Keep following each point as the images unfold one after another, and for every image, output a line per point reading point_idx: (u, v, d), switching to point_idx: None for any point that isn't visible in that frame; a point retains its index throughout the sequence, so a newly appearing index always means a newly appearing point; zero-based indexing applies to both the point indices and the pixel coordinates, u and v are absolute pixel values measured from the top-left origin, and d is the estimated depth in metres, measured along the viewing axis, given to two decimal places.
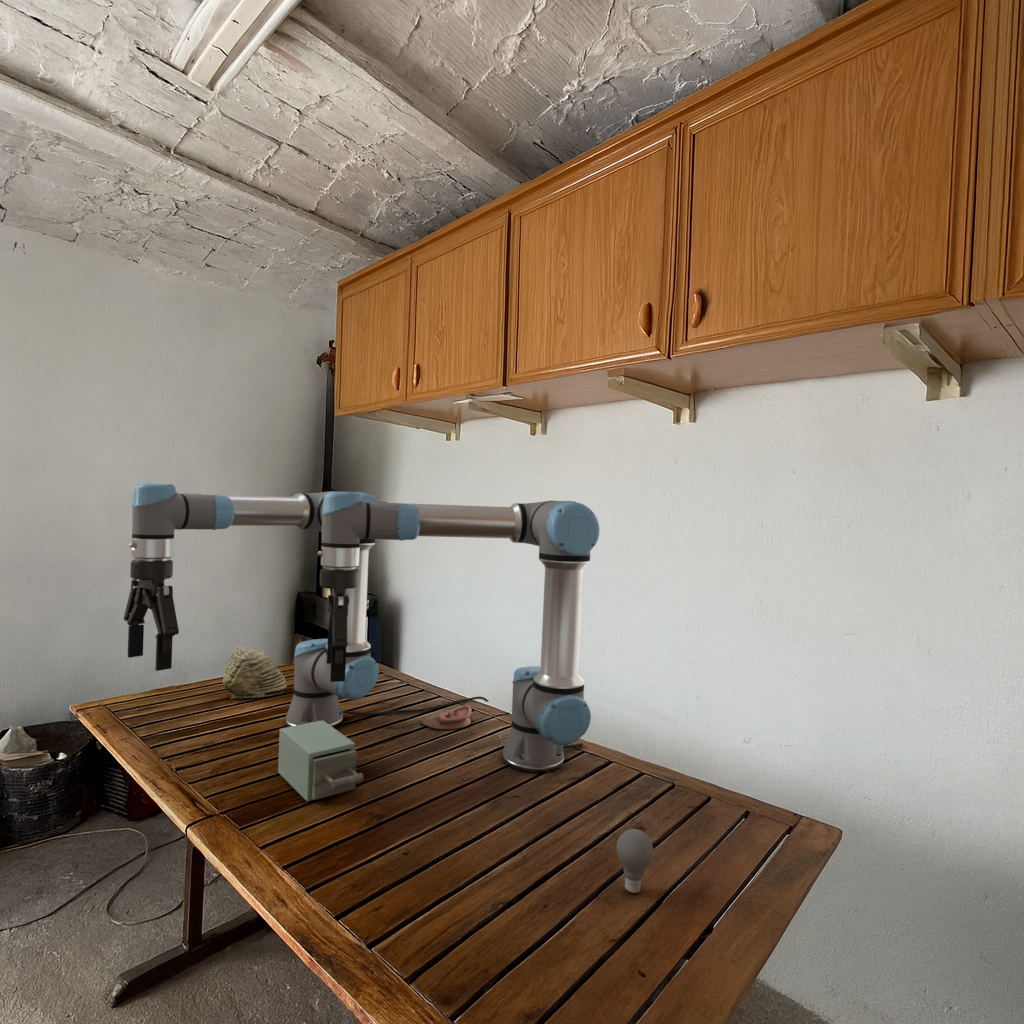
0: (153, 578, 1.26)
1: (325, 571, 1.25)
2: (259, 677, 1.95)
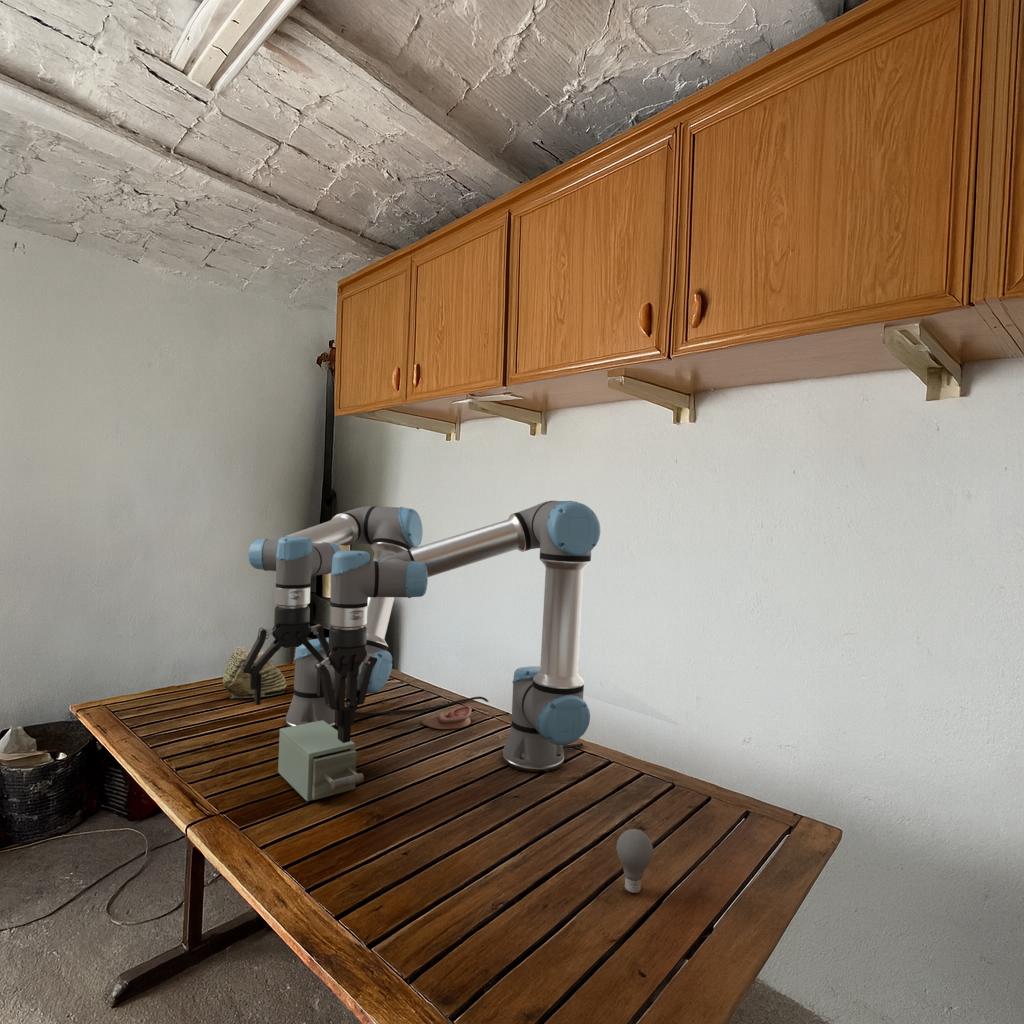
0: None
1: (364, 630, 1.29)
2: None
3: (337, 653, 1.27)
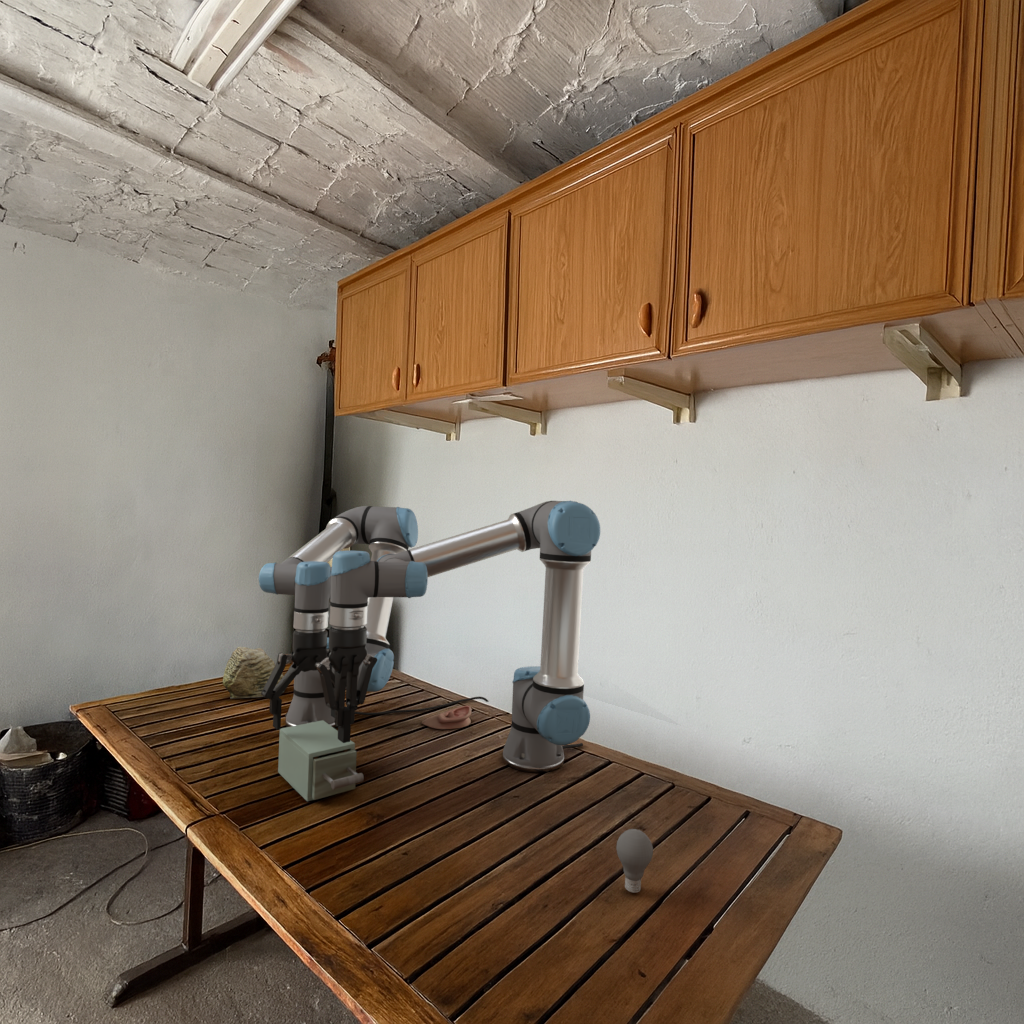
0: None
1: (364, 630, 1.29)
2: (259, 677, 1.95)
3: (337, 653, 1.27)
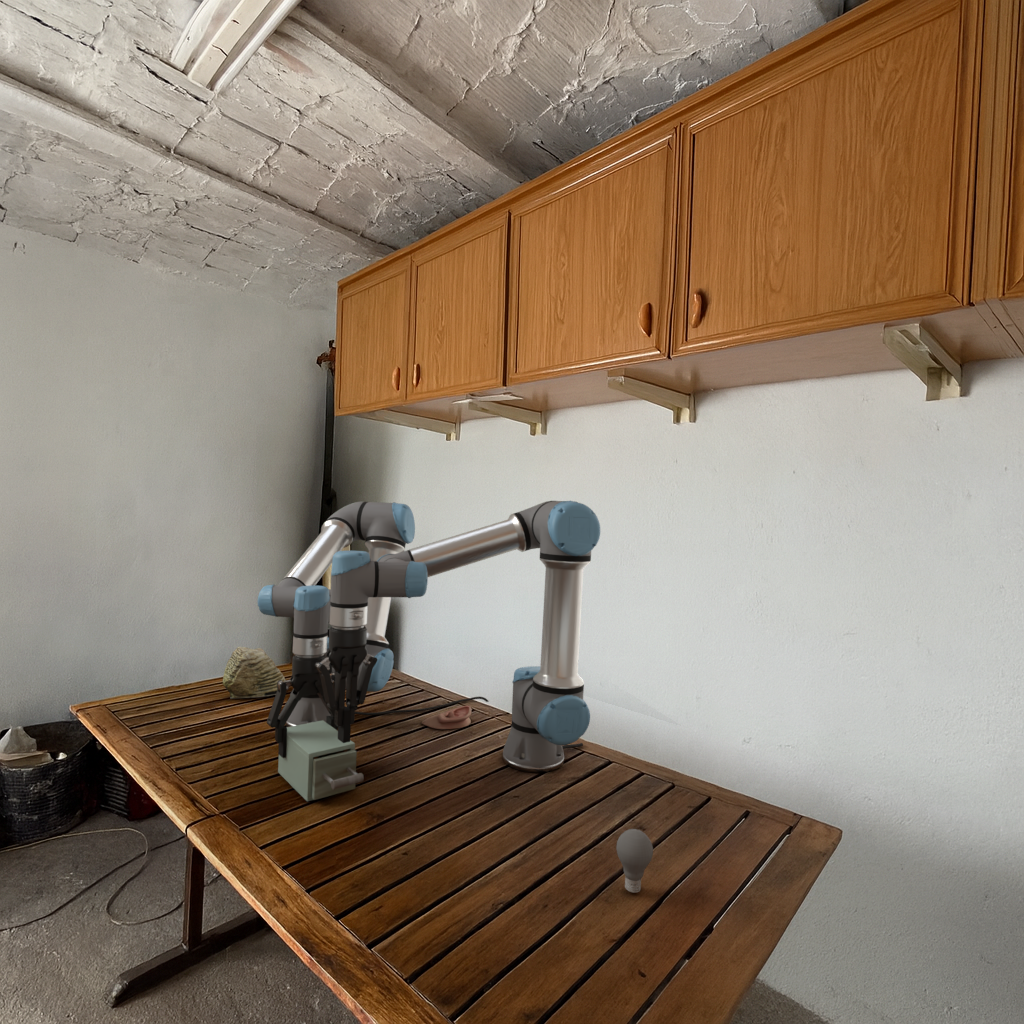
0: None
1: (364, 630, 1.29)
2: (259, 677, 1.95)
3: (337, 653, 1.27)
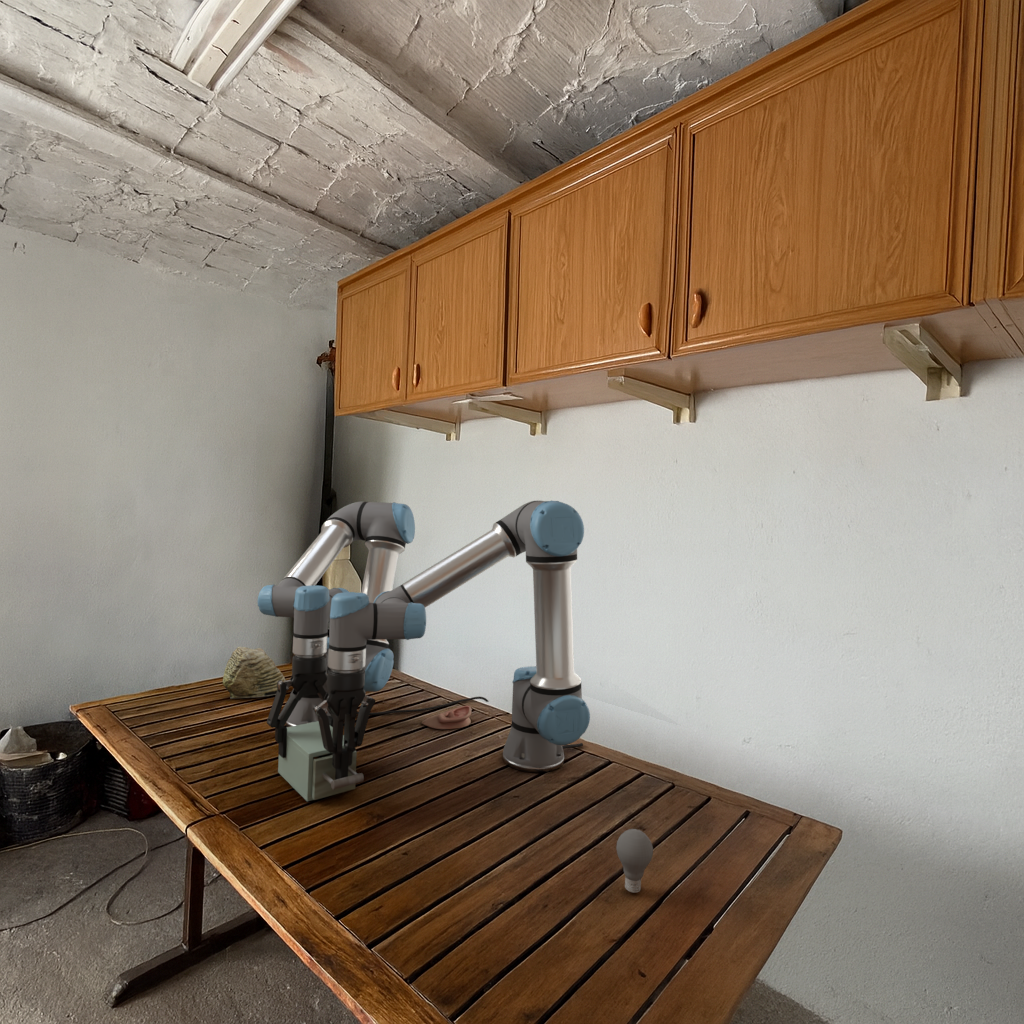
0: None
1: (363, 673, 1.29)
2: (259, 677, 1.95)
3: (335, 696, 1.28)
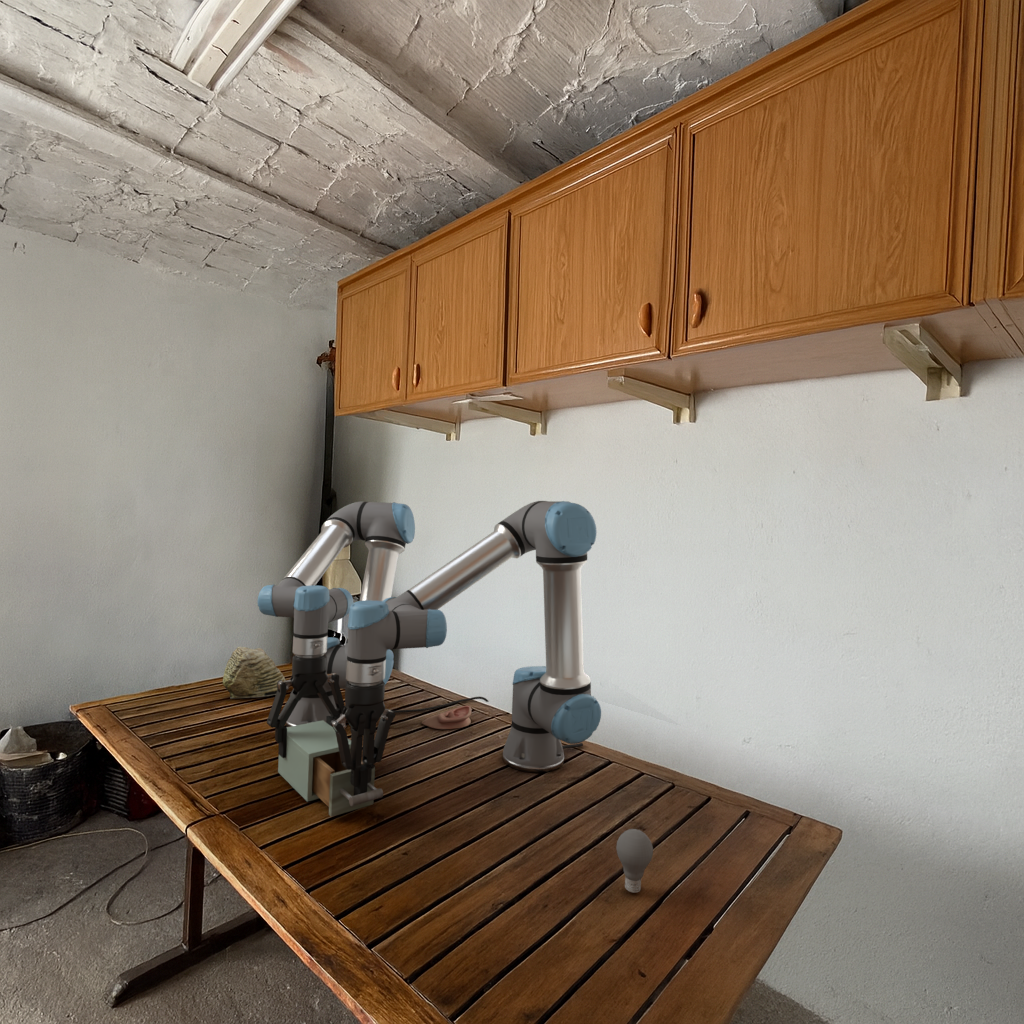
0: None
1: (382, 685, 1.23)
2: (259, 677, 1.95)
3: (354, 710, 1.21)
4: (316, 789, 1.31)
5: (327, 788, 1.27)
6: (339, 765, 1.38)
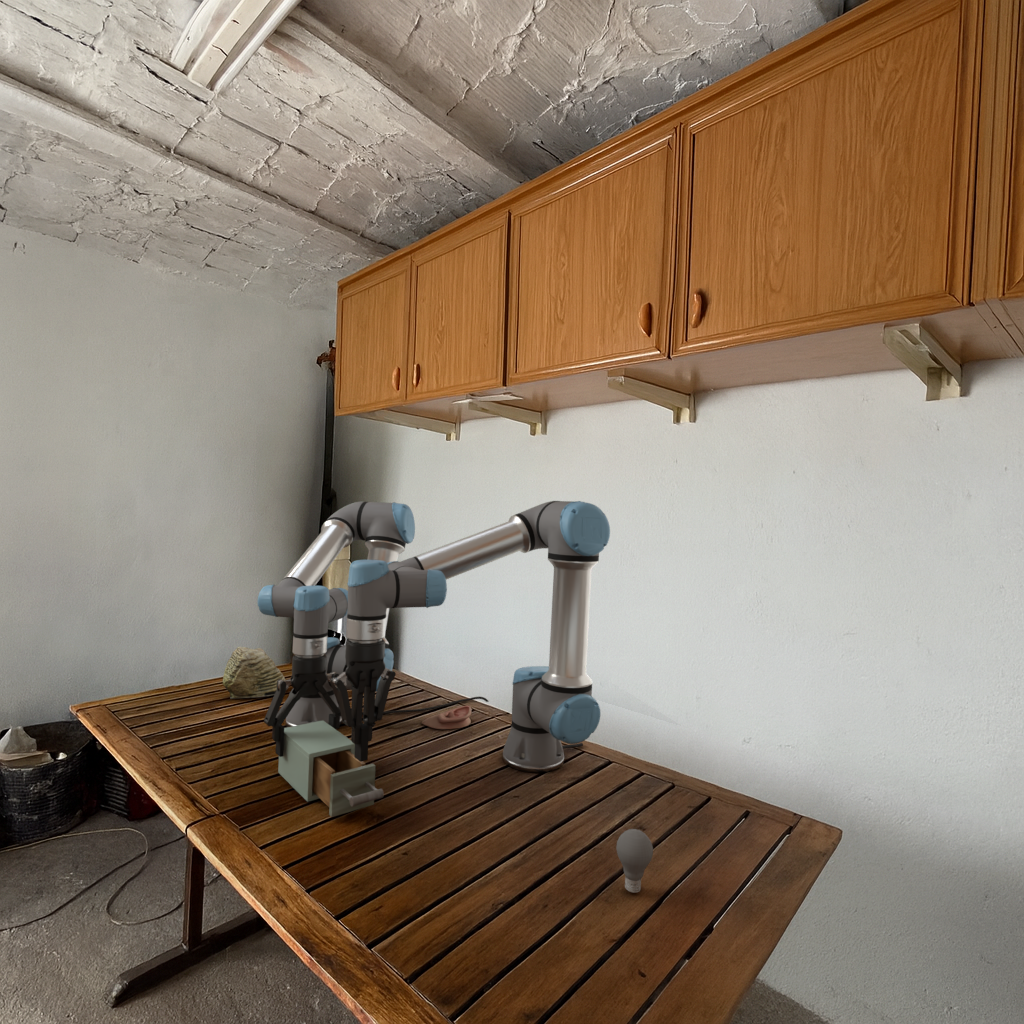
0: None
1: (383, 643, 1.23)
2: (259, 677, 1.95)
3: (354, 668, 1.22)
4: (316, 789, 1.31)
5: (327, 788, 1.27)
6: (339, 766, 1.38)
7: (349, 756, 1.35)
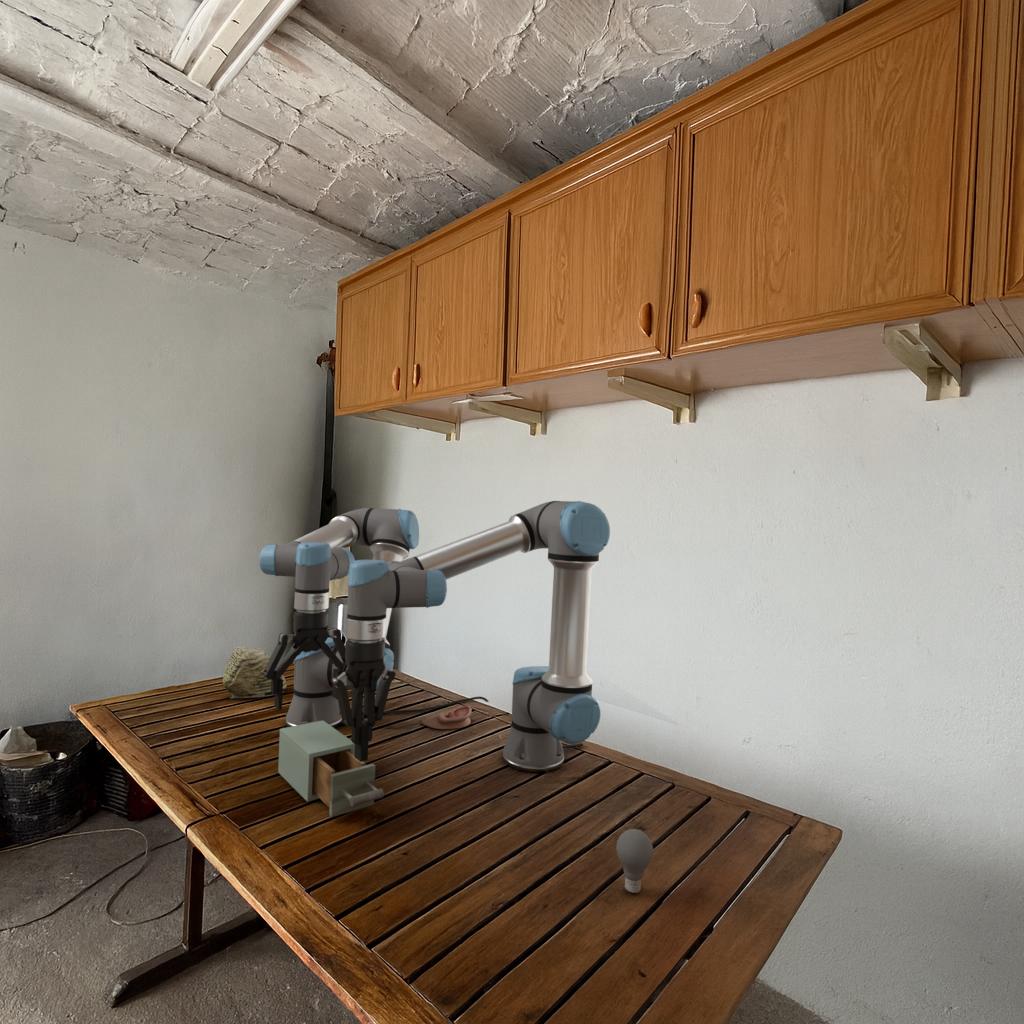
0: (327, 625, 1.46)
1: (383, 643, 1.23)
2: (259, 677, 1.95)
3: (354, 668, 1.22)
4: (316, 789, 1.31)
5: (327, 788, 1.27)
6: (339, 766, 1.38)
7: (349, 756, 1.35)
